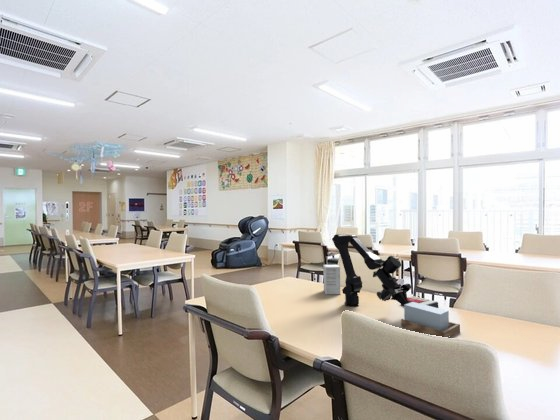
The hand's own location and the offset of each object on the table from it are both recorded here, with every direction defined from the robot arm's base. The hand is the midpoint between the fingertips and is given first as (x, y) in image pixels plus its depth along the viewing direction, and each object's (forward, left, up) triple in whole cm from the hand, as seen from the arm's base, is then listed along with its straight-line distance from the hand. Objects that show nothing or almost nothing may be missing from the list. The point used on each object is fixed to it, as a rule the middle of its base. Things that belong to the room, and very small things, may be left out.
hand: (408, 307), depth 140 cm
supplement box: (-29, +49, -7) cm, 58 cm away
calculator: (+14, +23, -7) cm, 28 cm away
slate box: (+5, -6, -7) cm, 11 cm away
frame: (+6, -7, -7) cm, 12 cm away
